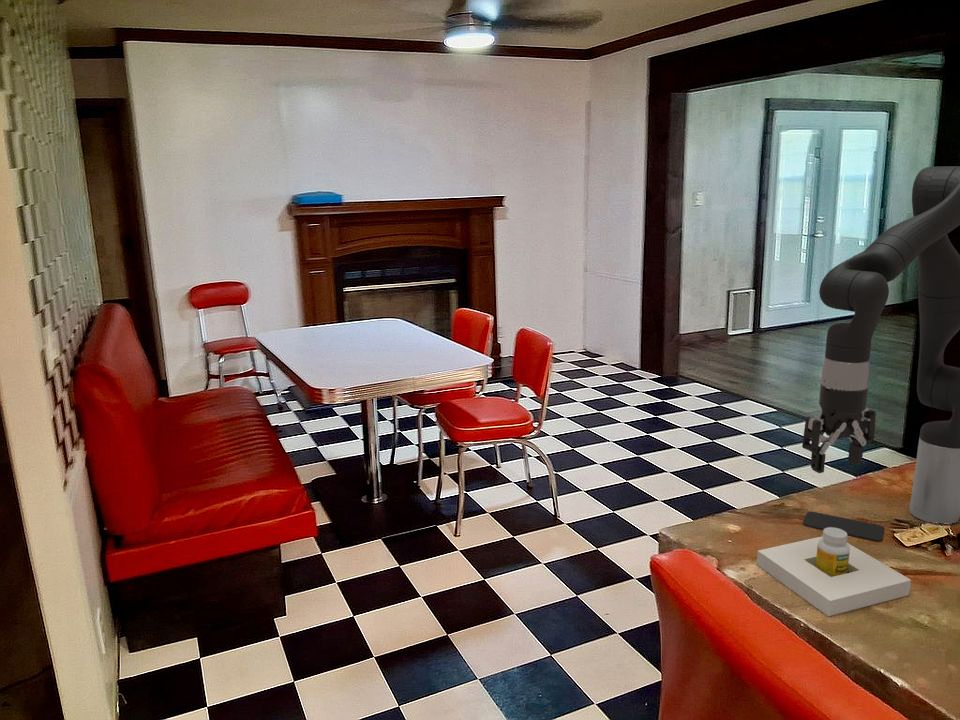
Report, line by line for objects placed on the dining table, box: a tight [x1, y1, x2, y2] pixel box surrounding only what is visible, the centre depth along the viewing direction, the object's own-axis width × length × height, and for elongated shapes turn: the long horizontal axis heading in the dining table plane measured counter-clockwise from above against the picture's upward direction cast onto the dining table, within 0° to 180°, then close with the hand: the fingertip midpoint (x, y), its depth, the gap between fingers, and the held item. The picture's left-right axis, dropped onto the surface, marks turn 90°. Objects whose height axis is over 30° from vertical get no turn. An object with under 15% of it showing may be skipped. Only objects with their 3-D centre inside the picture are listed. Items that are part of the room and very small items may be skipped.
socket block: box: [756, 535, 912, 617], centre depth 133 cm, size 18×18×3 cm
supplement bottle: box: [815, 527, 850, 577], centre depth 132 cm, size 5×5×10 cm
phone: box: [802, 511, 885, 543], centre depth 153 cm, size 7×1×15 cm
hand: (835, 467), depth 132 cm, fingers open, 8 cm apart
